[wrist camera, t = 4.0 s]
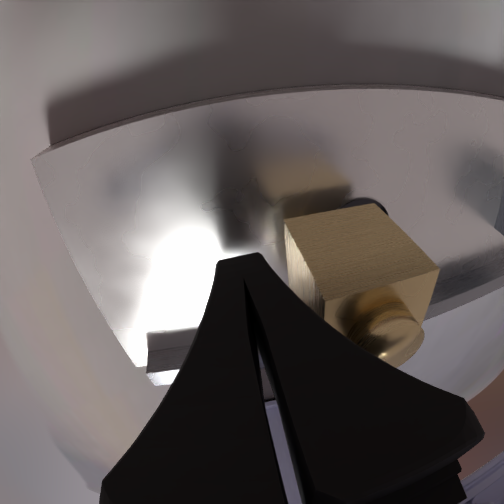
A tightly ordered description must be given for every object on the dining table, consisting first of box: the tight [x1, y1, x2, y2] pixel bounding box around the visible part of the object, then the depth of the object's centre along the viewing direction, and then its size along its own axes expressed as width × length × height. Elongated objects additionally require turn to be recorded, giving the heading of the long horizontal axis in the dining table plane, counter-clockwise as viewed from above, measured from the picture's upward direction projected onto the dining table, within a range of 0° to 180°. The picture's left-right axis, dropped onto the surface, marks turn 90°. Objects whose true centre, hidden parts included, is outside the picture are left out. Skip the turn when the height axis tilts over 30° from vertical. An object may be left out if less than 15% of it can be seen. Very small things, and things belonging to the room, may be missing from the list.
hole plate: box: [31, 84, 504, 386], centre depth 9 cm, size 10×26×7 cm, turn 97°
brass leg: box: [283, 203, 440, 368], centre depth 8 cm, size 3×3×5 cm
